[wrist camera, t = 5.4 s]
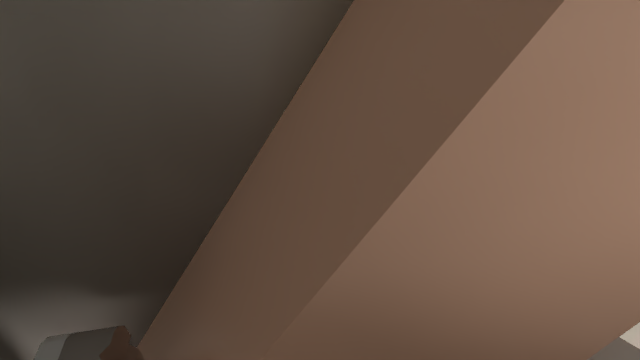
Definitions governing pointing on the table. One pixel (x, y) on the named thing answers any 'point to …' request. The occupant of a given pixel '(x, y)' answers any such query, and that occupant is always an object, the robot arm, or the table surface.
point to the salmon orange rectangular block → (434, 195)
